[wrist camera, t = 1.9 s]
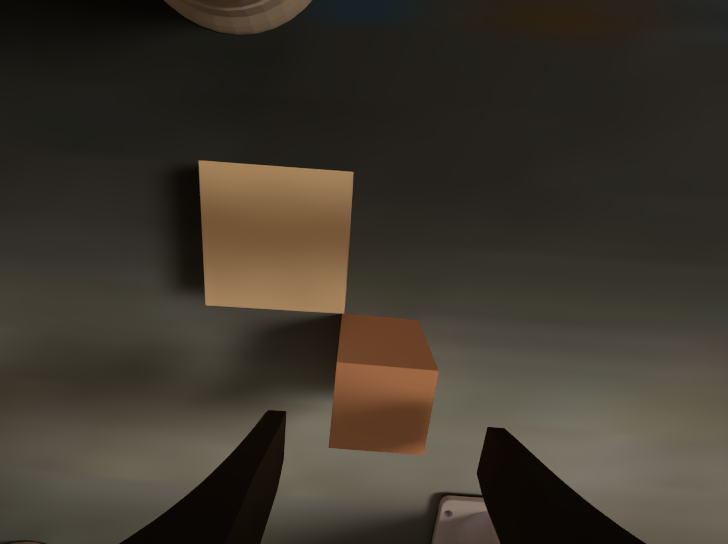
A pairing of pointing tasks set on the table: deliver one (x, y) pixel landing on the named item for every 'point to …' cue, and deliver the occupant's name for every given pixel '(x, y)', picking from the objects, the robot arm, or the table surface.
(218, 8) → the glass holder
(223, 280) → the birch base
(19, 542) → the coffee cup
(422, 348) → the painted block
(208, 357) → the table surface
